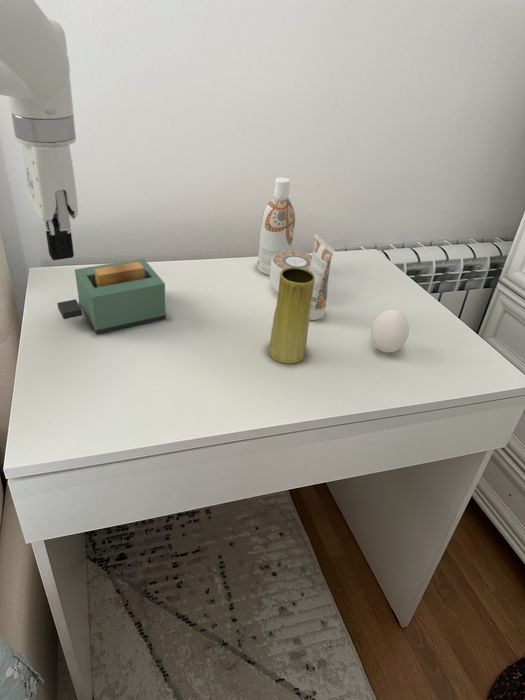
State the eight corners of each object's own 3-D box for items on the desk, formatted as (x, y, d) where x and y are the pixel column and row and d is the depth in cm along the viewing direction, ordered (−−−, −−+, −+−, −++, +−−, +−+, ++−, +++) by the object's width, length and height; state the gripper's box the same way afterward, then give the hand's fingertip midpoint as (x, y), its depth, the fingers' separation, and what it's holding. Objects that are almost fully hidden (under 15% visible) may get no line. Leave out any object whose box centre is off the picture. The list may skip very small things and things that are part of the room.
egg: (361, 340, 92) (370, 302, 88) (394, 338, 93) (405, 301, 89) (374, 361, 87) (384, 322, 83) (408, 359, 88) (420, 320, 84)
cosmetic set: (342, 321, 96) (363, 223, 85) (296, 328, 93) (311, 227, 82) (286, 260, 115) (297, 172, 104) (246, 264, 112) (253, 174, 101)
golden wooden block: (102, 315, 90) (98, 275, 85) (98, 308, 91) (94, 268, 87) (146, 307, 93) (144, 267, 89) (141, 300, 95) (139, 261, 90)
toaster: (96, 334, 87) (92, 297, 82) (79, 305, 93) (74, 269, 89) (165, 319, 92) (165, 283, 88) (145, 292, 99) (143, 258, 95)
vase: (294, 339, 90) (305, 263, 82) (312, 359, 86) (326, 281, 78) (261, 346, 88) (270, 268, 80) (278, 367, 84) (289, 287, 75)
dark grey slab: (63, 319, 86) (62, 313, 85) (58, 308, 88) (57, 302, 87) (82, 315, 87) (81, 309, 86) (76, 305, 89) (75, 299, 89)
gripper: (3, 115, 73) (25, 240, 84) (26, 144, 63) (47, 282, 73) (60, 114, 77) (73, 234, 87) (90, 141, 67) (101, 274, 77)
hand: (61, 256), depth 80 cm, fingers closed
